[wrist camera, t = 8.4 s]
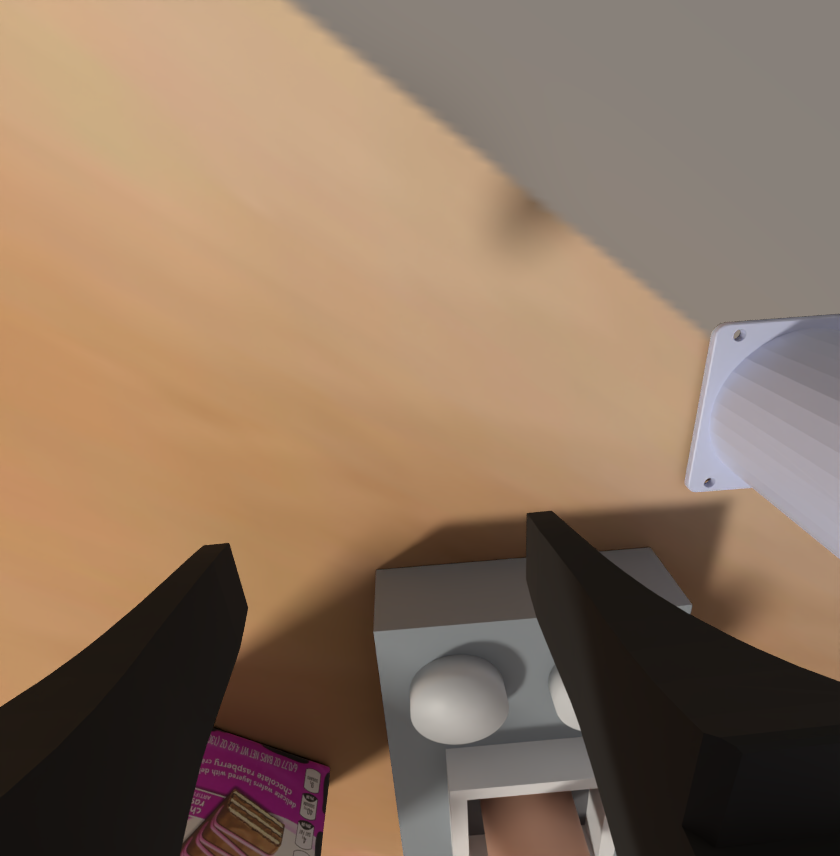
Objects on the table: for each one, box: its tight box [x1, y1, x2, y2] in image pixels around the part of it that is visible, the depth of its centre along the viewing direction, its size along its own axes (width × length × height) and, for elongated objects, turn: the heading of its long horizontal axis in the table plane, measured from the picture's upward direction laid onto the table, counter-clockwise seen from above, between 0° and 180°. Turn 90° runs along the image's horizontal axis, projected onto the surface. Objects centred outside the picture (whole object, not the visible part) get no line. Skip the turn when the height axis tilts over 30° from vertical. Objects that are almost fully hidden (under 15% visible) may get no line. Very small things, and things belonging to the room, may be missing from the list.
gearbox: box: [373, 547, 692, 856], centre depth 27 cm, size 14×20×6 cm
